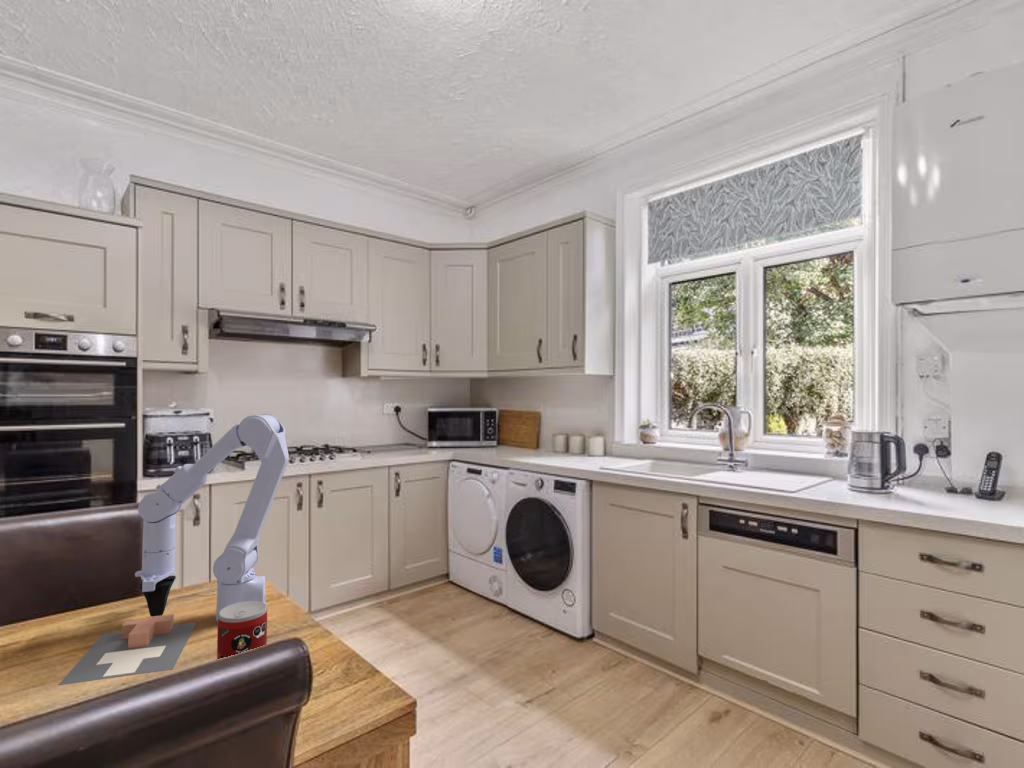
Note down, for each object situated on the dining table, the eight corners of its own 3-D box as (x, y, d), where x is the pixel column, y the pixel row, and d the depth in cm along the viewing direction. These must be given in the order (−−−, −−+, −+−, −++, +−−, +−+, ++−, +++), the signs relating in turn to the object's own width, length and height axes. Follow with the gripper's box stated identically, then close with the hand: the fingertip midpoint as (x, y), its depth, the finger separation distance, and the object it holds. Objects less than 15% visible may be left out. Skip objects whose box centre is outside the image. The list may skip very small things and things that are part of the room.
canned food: (214, 689, 88) (215, 621, 88) (218, 666, 95) (220, 604, 96) (265, 680, 91) (267, 614, 91) (266, 658, 99) (267, 598, 99)
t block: (173, 626, 109) (173, 614, 109) (162, 644, 101) (163, 630, 101) (126, 632, 106) (126, 619, 106) (111, 650, 99) (112, 636, 99)
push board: (196, 627, 111) (196, 622, 111) (172, 674, 92) (172, 669, 92) (103, 638, 106) (103, 633, 106) (57, 691, 87) (58, 684, 87)
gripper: (146, 541, 118) (144, 604, 118) (124, 561, 104) (122, 631, 104) (183, 539, 120) (182, 600, 120) (166, 557, 107) (165, 627, 106)
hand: (157, 614), depth 112 cm, fingers closed
